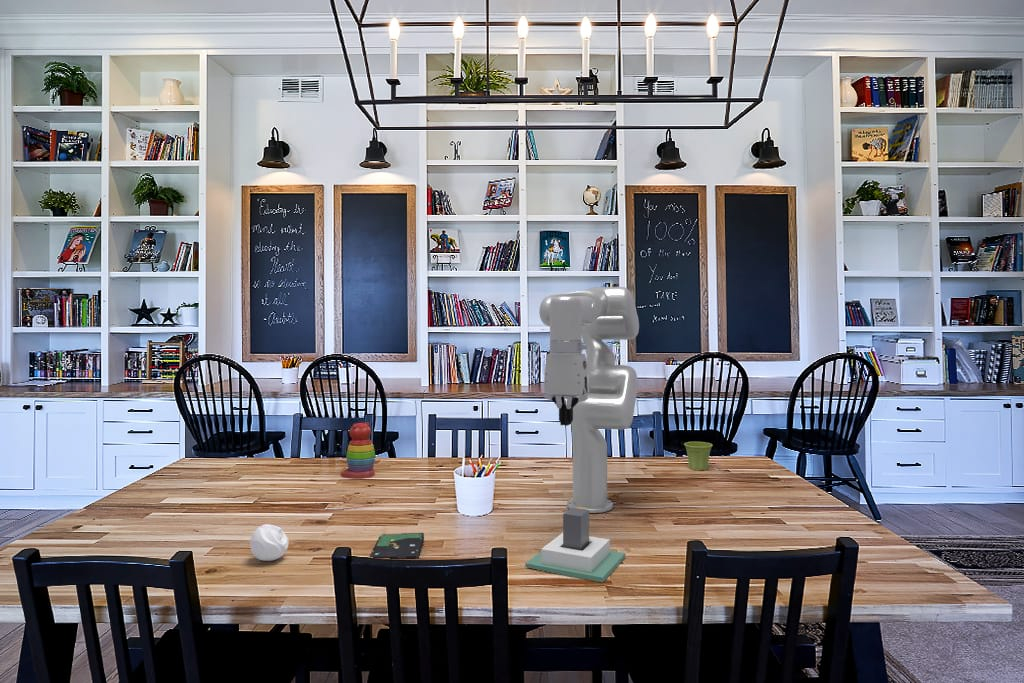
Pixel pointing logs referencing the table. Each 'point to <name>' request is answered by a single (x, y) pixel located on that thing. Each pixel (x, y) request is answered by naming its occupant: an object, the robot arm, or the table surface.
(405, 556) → the disk drive
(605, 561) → the board
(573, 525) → the plug
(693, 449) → the plant pot
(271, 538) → the crumpled white paper ball
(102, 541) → the table surface
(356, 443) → the stacking bear
